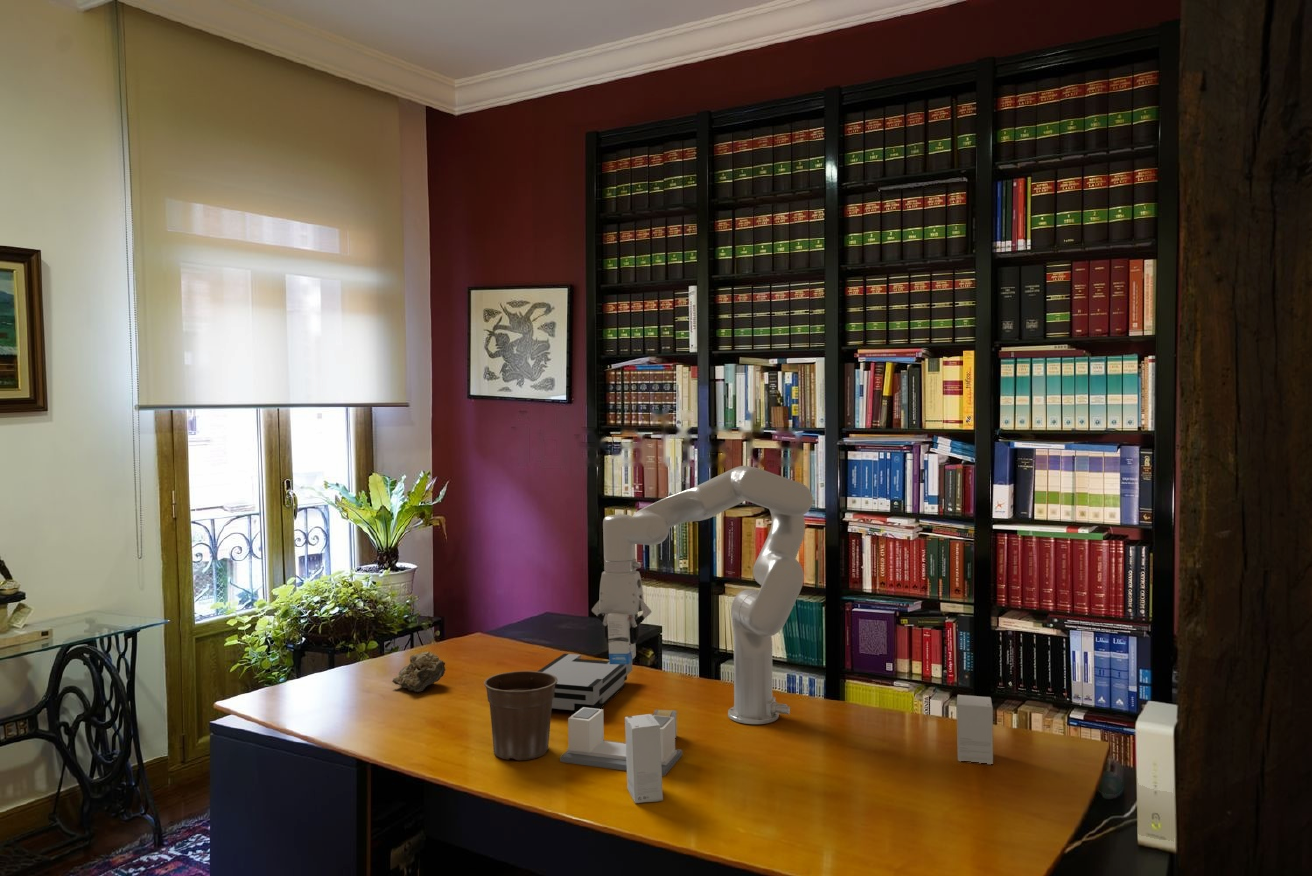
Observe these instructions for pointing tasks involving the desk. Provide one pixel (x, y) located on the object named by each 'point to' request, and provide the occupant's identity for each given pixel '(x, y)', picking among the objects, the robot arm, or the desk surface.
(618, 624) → the ink box
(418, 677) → the mineral specimen
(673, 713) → the block
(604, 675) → the game console
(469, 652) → the desk surface
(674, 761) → the white u-shaped stand
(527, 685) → the plant pot
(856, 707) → the desk surface
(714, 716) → the desk surface
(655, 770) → the skincare box
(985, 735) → the supplement box
